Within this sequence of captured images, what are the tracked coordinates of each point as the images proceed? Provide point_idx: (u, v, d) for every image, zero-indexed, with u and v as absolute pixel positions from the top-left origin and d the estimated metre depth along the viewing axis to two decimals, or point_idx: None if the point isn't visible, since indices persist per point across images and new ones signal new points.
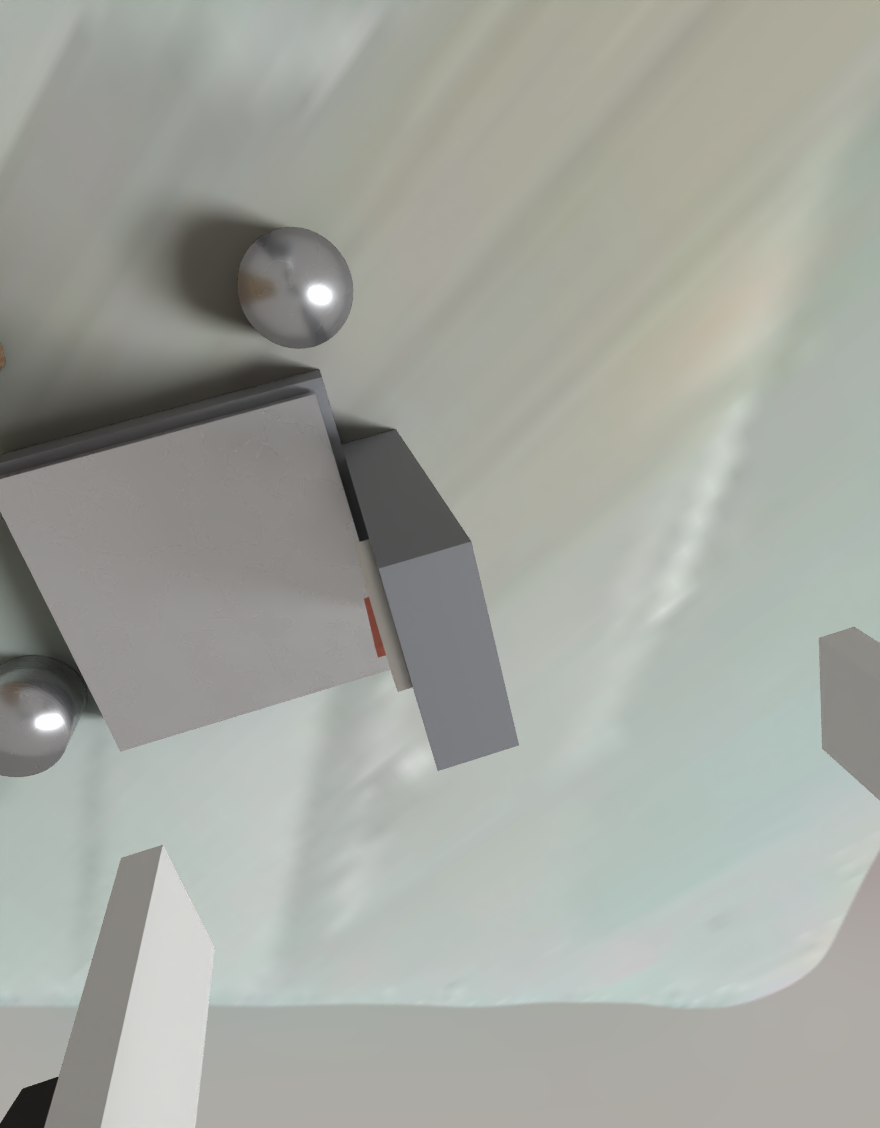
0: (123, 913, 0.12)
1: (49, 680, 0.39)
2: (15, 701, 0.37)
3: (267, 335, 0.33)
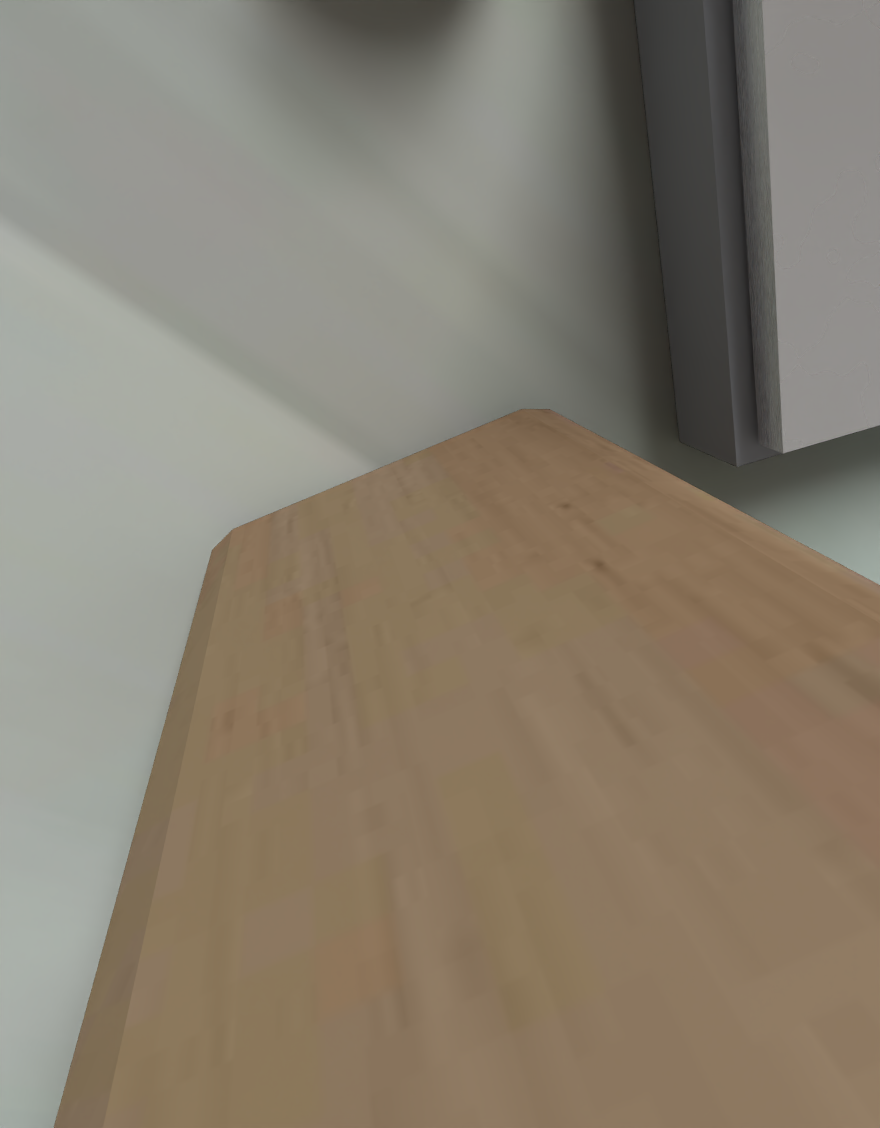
0: None
1: None
2: None
3: None
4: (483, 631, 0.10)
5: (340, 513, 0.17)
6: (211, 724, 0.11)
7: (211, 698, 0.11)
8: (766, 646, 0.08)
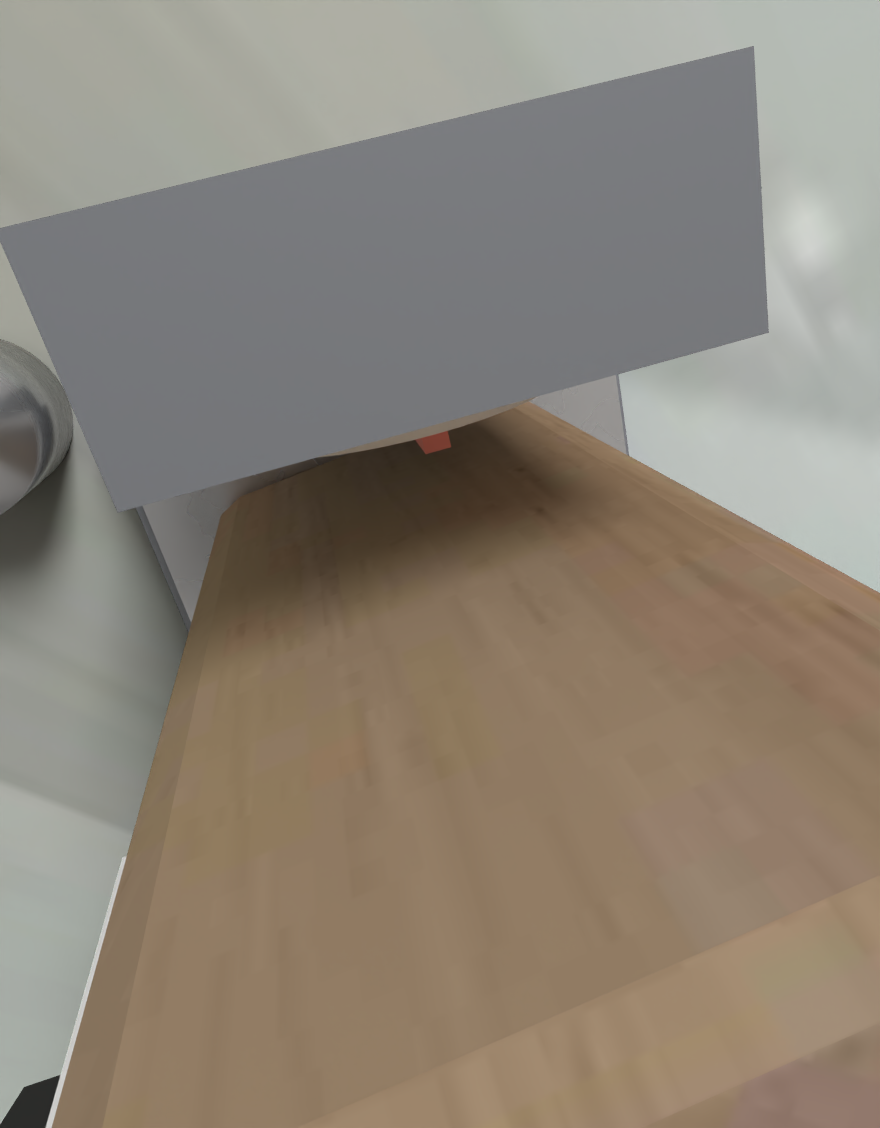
0: None
1: None
2: None
3: (22, 486, 0.22)
4: (445, 559, 0.13)
5: (333, 481, 0.20)
6: (226, 632, 0.13)
7: (225, 616, 0.14)
8: (649, 558, 0.11)
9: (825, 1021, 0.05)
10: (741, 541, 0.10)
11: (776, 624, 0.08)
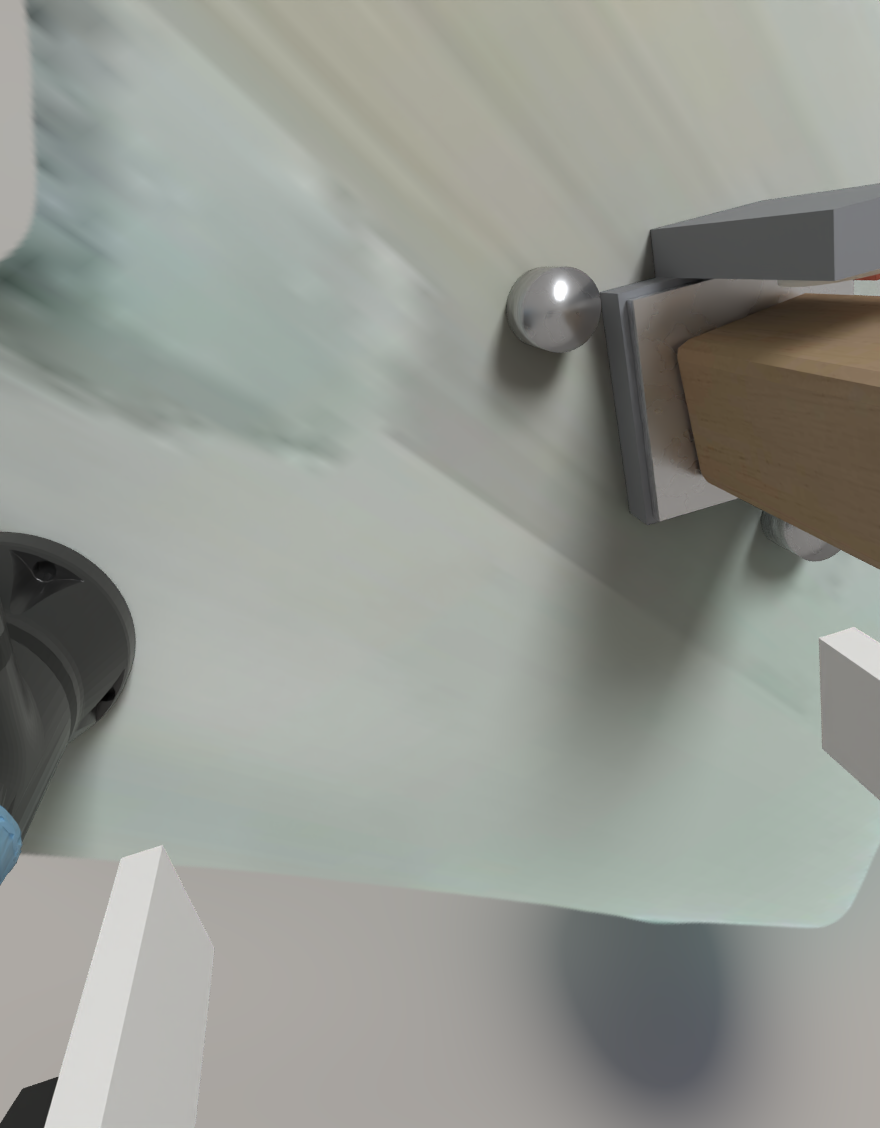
0: (123, 913, 0.12)
1: None
2: None
3: (590, 333, 0.47)
4: (862, 323, 0.38)
5: (750, 325, 0.45)
6: (782, 351, 0.39)
7: (772, 350, 0.39)
8: None
9: None
10: None
11: None
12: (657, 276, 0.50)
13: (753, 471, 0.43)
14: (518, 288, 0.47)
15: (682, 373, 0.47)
